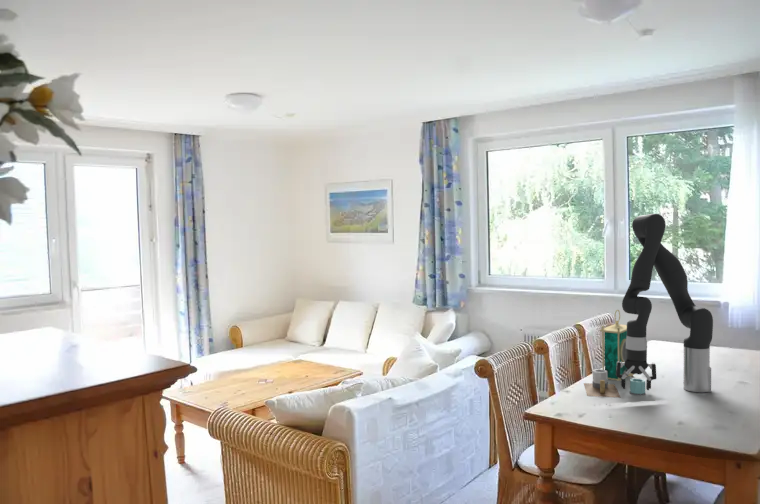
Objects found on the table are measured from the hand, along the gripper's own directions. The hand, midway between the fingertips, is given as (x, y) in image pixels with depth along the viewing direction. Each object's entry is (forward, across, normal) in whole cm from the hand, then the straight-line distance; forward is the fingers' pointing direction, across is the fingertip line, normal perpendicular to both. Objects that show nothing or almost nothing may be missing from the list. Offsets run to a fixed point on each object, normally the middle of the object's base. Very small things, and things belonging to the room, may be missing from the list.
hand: (635, 389), depth 231 cm
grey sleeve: (+2, +12, -6) cm, 14 cm away
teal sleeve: (+3, -1, 0) cm, 3 cm away
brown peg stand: (+3, +12, -2) cm, 13 cm away
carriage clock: (+3, +4, -26) cm, 26 cm away
